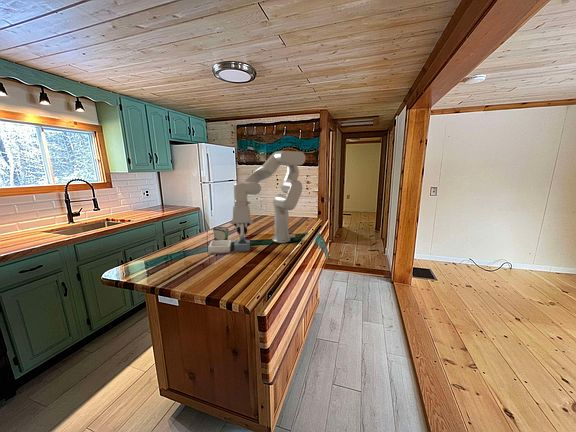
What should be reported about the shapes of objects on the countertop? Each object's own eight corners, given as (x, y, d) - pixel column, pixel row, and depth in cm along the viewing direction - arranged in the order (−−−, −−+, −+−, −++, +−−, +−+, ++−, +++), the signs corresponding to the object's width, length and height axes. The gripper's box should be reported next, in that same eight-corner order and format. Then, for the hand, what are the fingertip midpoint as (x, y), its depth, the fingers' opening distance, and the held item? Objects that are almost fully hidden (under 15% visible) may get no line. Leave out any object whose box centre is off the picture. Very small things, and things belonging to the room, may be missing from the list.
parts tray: (231, 246, 147) (231, 239, 146) (229, 252, 135) (229, 246, 134) (211, 246, 145) (211, 240, 144) (208, 253, 133) (208, 247, 133)
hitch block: (249, 246, 147) (249, 239, 146) (249, 250, 139) (249, 244, 138) (235, 246, 146) (235, 240, 145) (234, 251, 137) (234, 245, 136)
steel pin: (245, 240, 143) (244, 221, 141) (245, 242, 140) (244, 222, 138) (240, 240, 143) (239, 221, 140) (239, 242, 140) (239, 223, 137)
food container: (233, 242, 153) (233, 228, 151) (226, 245, 148) (225, 230, 146) (220, 239, 159) (219, 225, 157) (213, 242, 154) (212, 227, 152)
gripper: (255, 202, 141) (255, 231, 145) (227, 203, 139) (228, 232, 143) (255, 204, 134) (256, 235, 138) (226, 205, 132) (227, 236, 136)
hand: (242, 233), depth 140 cm, fingers closed on steel pin, 3 cm apart
